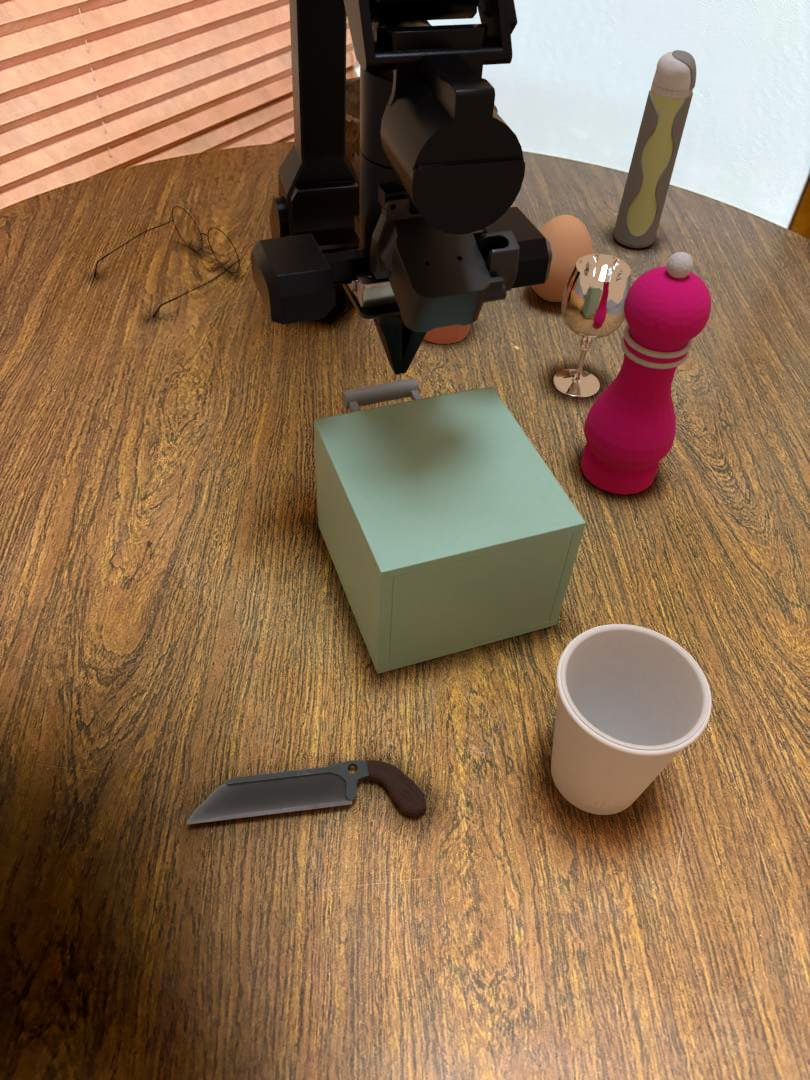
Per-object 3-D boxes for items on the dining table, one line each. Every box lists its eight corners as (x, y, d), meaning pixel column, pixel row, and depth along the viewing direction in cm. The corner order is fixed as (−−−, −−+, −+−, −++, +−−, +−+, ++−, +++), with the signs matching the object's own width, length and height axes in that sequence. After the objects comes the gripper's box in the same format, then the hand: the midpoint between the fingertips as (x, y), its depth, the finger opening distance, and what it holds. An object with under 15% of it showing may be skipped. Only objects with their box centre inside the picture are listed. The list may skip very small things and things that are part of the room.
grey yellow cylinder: (613, 227, 103) (656, 43, 88) (654, 233, 102) (704, 48, 88) (611, 247, 99) (656, 59, 85) (653, 253, 99) (706, 64, 84)
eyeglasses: (159, 323, 85) (150, 276, 81) (87, 273, 91) (76, 228, 87) (247, 282, 91) (243, 238, 87) (175, 238, 96) (168, 195, 93)
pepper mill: (664, 454, 75) (741, 240, 60) (653, 509, 70) (733, 290, 55) (583, 434, 76) (638, 219, 62) (566, 486, 71) (622, 267, 57)
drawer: (304, 465, 71) (299, 377, 64) (444, 436, 74) (453, 350, 67) (375, 638, 59) (377, 552, 52) (537, 595, 62) (558, 509, 56)
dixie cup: (665, 848, 51) (718, 766, 43) (524, 822, 51) (553, 736, 44) (661, 726, 56) (708, 635, 49) (534, 704, 57) (561, 610, 50)
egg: (582, 285, 93) (600, 204, 87) (585, 318, 89) (604, 236, 82) (521, 279, 94) (534, 198, 87) (521, 312, 89) (534, 229, 82)
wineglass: (605, 406, 79) (636, 290, 70) (543, 396, 80) (566, 280, 71) (608, 370, 83) (638, 255, 74) (548, 361, 84) (571, 246, 75)
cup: (403, 333, 86) (406, 274, 81) (427, 306, 89) (432, 248, 84) (455, 350, 84) (461, 291, 79) (478, 322, 88) (485, 263, 83)
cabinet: (318, 525, 67) (313, 419, 59) (477, 490, 71) (493, 385, 63) (377, 674, 58) (380, 572, 50) (557, 625, 62) (586, 522, 54)
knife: (416, 757, 54) (417, 751, 53) (427, 817, 51) (428, 812, 51) (188, 783, 52) (186, 778, 51) (187, 847, 49) (185, 842, 49)
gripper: (286, 237, 42) (300, 470, 54) (618, 193, 47) (566, 416, 59) (238, 144, 49) (259, 368, 61) (531, 114, 54) (500, 327, 66)
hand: (398, 370), depth 61 cm, fingers closed
